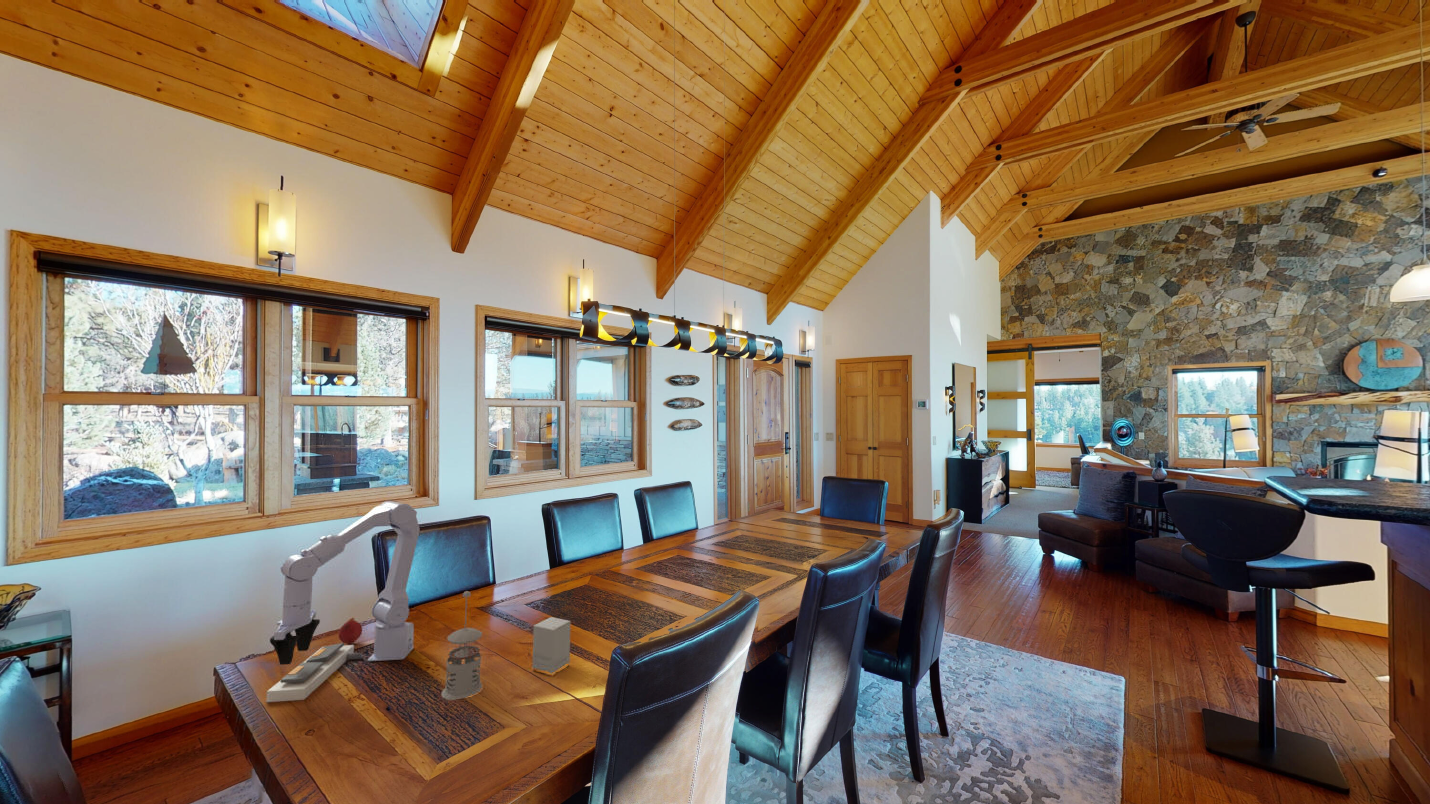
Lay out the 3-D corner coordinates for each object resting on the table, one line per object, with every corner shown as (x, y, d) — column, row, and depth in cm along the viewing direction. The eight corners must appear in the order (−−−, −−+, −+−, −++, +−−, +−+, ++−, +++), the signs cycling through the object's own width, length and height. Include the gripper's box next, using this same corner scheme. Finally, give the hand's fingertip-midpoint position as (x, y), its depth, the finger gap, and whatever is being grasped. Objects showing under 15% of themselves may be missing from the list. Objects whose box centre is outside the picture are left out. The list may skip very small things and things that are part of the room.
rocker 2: (344, 645, 149) (343, 641, 149) (327, 659, 140) (326, 656, 140) (324, 649, 148) (324, 646, 148) (306, 664, 139) (305, 660, 139)
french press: (440, 703, 127) (445, 600, 128) (441, 682, 137) (445, 586, 138) (485, 695, 131) (489, 594, 132) (481, 674, 142) (485, 581, 143)
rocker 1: (323, 665, 138) (323, 661, 138) (303, 681, 130) (303, 677, 130) (301, 665, 137) (302, 661, 137) (280, 682, 129) (281, 678, 129)
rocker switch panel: (366, 653, 152) (367, 644, 153) (320, 698, 128) (320, 687, 128) (322, 655, 150) (322, 646, 150) (266, 702, 126) (266, 691, 126)
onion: (349, 649, 154) (350, 622, 155) (333, 647, 156) (334, 620, 156) (366, 641, 160) (367, 615, 160) (350, 639, 161) (351, 613, 162)
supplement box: (570, 665, 148) (571, 620, 148) (551, 677, 141) (553, 629, 142) (550, 660, 151) (551, 615, 152) (531, 670, 144) (532, 624, 145)
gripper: (296, 594, 140) (293, 645, 140) (261, 614, 126) (257, 671, 125) (325, 593, 141) (323, 643, 141) (294, 612, 127) (291, 669, 127)
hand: (294, 656), depth 133 cm, fingers open, 7 cm apart
